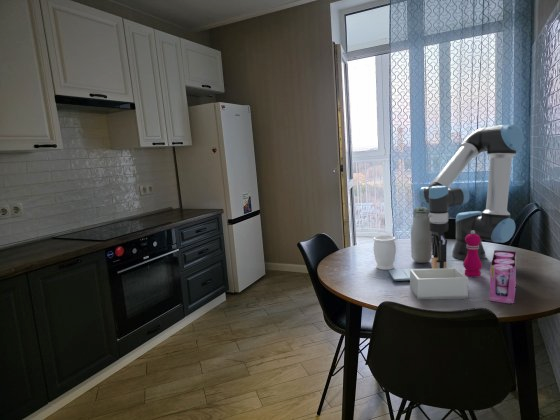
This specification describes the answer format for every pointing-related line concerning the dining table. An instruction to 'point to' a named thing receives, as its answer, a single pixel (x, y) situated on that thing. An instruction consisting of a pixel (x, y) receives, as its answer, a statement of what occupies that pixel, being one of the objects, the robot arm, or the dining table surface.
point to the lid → (405, 273)
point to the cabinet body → (438, 283)
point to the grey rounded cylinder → (421, 236)
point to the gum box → (503, 276)
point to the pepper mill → (472, 255)
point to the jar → (384, 252)
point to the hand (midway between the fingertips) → (439, 274)
